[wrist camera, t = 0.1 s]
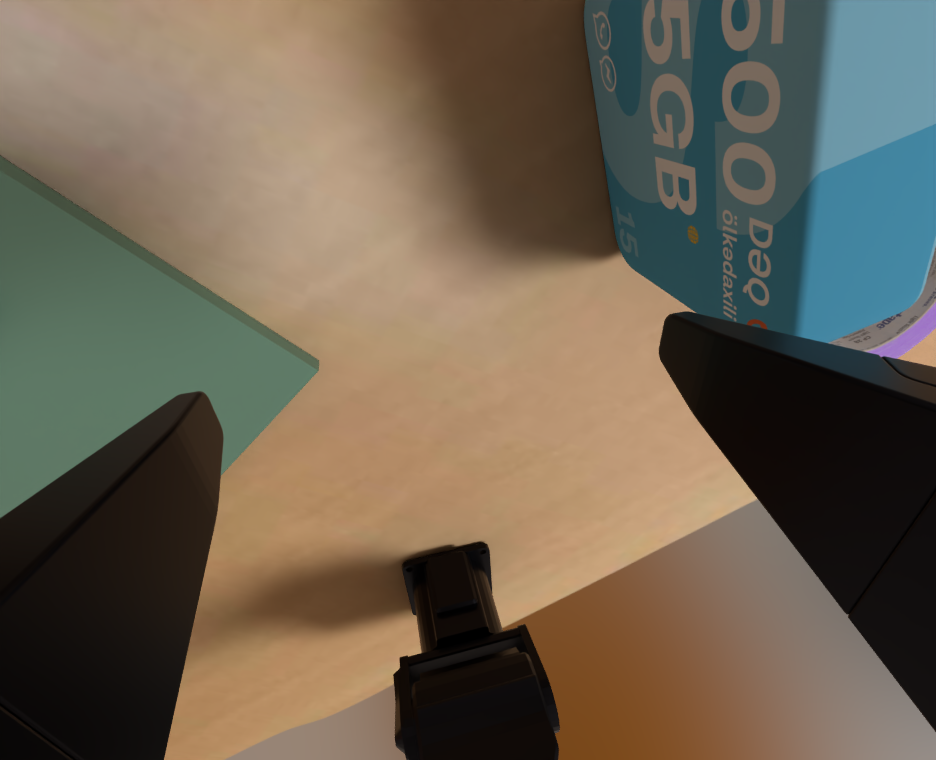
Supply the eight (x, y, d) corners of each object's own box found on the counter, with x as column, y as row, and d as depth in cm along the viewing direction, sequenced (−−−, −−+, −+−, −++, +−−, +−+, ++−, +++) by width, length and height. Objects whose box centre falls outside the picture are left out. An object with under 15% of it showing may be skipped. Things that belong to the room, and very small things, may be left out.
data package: (575, -16, 19) (839, -107, 9) (682, -61, 19) (1067, -203, 9) (617, 261, 25) (790, 382, 16) (695, 228, 25) (917, 328, 16)
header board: (319, 360, 25) (316, 399, 22) (117, 578, 30) (94, 633, 27) (-134, 70, 15) (-240, 70, 13) (-316, 456, 20) (-422, 519, 18)
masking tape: (708, 301, 29) (753, 330, 25) (873, 117, 25) (952, 124, 21) (801, 375, 34) (848, 407, 31) (949, 235, 30) (1020, 254, 27)
